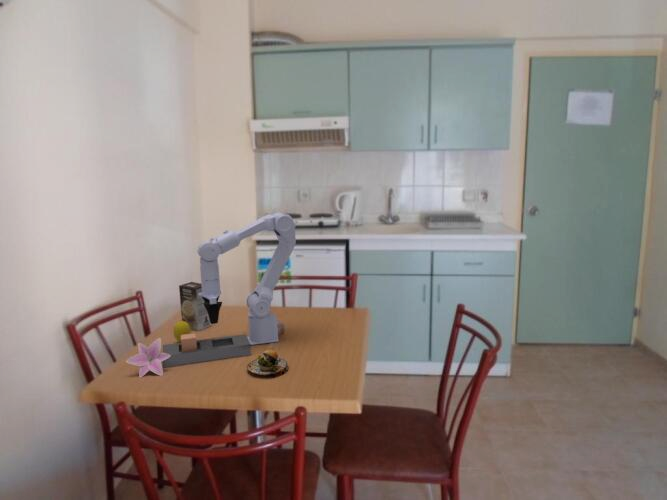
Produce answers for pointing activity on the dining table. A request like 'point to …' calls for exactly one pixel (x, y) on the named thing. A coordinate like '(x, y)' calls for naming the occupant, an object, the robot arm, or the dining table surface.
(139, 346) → the lily
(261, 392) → the dining table surface
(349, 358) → the dining table surface
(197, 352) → the grey slotted board
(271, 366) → the burger
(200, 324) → the coffee box
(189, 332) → the lemon
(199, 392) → the dining table surface
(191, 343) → the peg
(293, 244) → the robot arm
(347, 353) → the dining table surface
